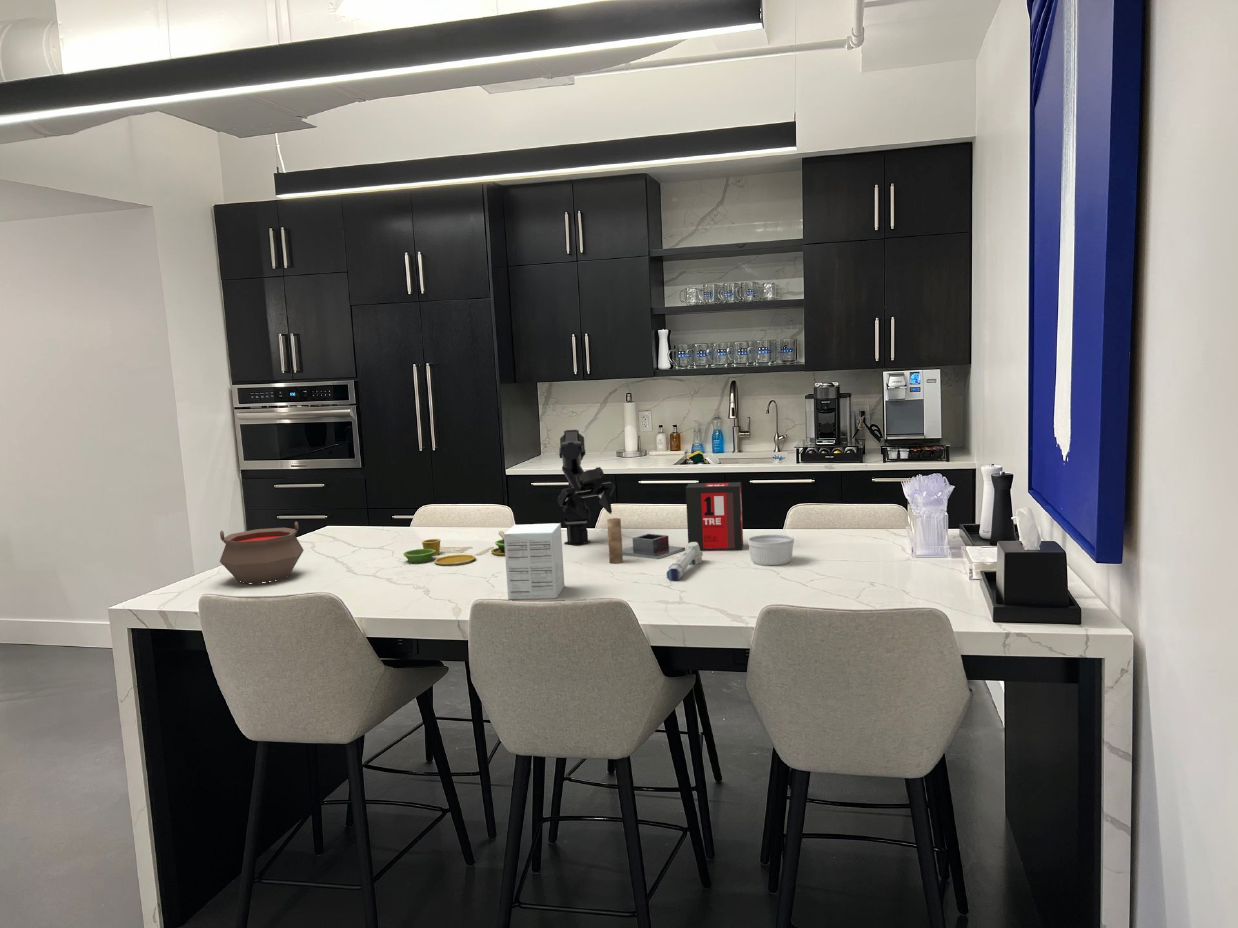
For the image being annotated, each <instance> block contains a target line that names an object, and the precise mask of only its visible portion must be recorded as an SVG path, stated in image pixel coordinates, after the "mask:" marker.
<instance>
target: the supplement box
mask: <svg viewBox="0 0 1238 928" xmlns="http://www.w3.org/2000/svg"><path fill="white" fill-rule="evenodd" d="M561 524H562V523H561V522H559V523H554V522H553V523H533V524H527V523H526V524H513V525H512V526H511V528H509V529H508V530H507V531H506V532H504V533H505V534H504V546H505V556H504V557H505V558H504V559H505V570H506V585H507V586H506V587H507V599H508V600H533V599H534V600H536V599H537V600H538V599H540V600H542V599H543V600H545V599H548V600H549V599H557V598H558V597H559V595H560V594H561V592H562V590H563V589H564V587H565V585H566V583H565V572H564V570H565V569H564V556H563V555H564V554H563V538H562V536H563V535H562V525H561Z"/></svg>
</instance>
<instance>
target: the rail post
mask: <svg viewBox="0 0 1238 928" xmlns="http://www.w3.org/2000/svg"><path fill="white" fill-rule="evenodd" d="M621 519H622V518H617V517H616V518H615V517H614V518H612V517H611V518H607V524H606V525H607V541H608V558H609V563H610V564H611V565H612V564H615V565H616V564H621V563H623V562H624V560H623V559H624V557H623V556H624V555H622V550H623V541H622V522H621V521H622V520H621Z"/></svg>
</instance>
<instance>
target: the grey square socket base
mask: <svg viewBox="0 0 1238 928" xmlns="http://www.w3.org/2000/svg"><path fill="white" fill-rule="evenodd" d="M669 543H670V541H669V535H665V534H658V533H657V534H656V533H646V534H642V535H639V536H636V537H632V546H630V547H628V548H624V549H623V548H622V555H623V556H631V557H639V558H640V557H641V558H646V559H654V560H655V559H656V560H659V559H661V558H666V557H668V556H671V555H674V554H678V553H680V552H685V551H686V547H683V546H674V545H670V544H669Z"/></svg>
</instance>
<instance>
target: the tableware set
mask: <svg viewBox="0 0 1238 928" xmlns="http://www.w3.org/2000/svg"><path fill="white" fill-rule="evenodd" d="M505 533H506V532H505V531H503V530H499V531H498V535H499V536H500V537H501V539H499V540H497V541H495V542H494V543H495V545H496V547H495V548H494V547H493V546H490V547H487V548H486V549H485V548H484V549H483V550H481V551H480V552H477V553H476V554H475V555H472V554H463V553H464V552H467V551H469V550H471V549H474V547H473V546H462V547H461V546H458V547H455V546H441V539H440V538H430V539H425V540H422V541H421V544H422V548H417V549H412V550H407V551H405V552H403V556H404V557H405V558H406V559H407V561H408V562H409V563H411V564H422V563H427V562H430V561H431V560H432V558H433V557H435V556H438V555H440V553H444V554H453V555H445V556H440V557H438V558H436V559H434V561H433V562H434V563H435V564H436V565H437V566H445V567H449V566H450V567H451V566H452V567H453V566H454V565H455V566H462V565H467V564H470V563H472V562H474V560H476V556H483V555H486V554H487V553H489V552H491V554H493V555H494V556H498V557H505V546H504V534H505ZM490 550H491V551H490Z"/></svg>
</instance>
